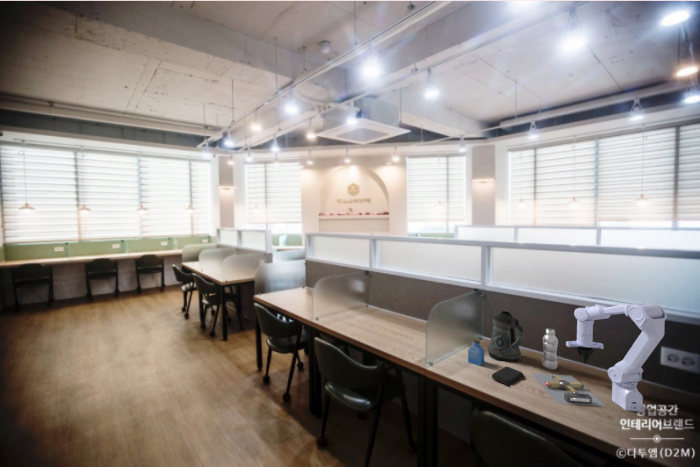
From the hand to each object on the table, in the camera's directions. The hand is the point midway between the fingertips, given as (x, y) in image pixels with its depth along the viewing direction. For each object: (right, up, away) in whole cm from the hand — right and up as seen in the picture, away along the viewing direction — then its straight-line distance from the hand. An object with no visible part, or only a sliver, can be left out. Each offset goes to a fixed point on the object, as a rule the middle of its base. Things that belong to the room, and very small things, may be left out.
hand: (584, 362), depth 139 cm
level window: (-15, -10, -15) cm, 23 cm away
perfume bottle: (-41, -9, +21) cm, 47 cm away
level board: (-13, -10, -6) cm, 17 cm away
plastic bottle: (-7, -9, +14) cm, 18 cm away
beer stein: (-22, -9, +26) cm, 35 cm away
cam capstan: (-13, -9, -6) cm, 17 cm away
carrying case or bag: (-33, -10, +4) cm, 34 cm away
